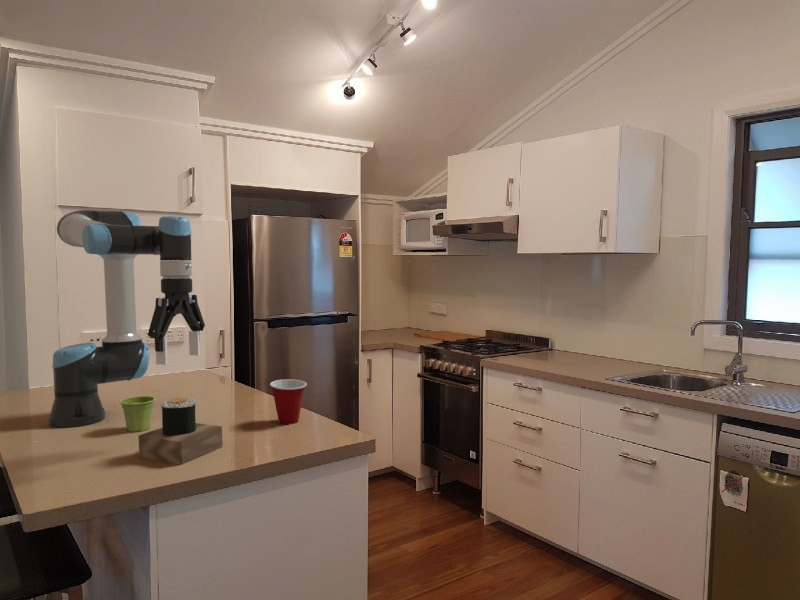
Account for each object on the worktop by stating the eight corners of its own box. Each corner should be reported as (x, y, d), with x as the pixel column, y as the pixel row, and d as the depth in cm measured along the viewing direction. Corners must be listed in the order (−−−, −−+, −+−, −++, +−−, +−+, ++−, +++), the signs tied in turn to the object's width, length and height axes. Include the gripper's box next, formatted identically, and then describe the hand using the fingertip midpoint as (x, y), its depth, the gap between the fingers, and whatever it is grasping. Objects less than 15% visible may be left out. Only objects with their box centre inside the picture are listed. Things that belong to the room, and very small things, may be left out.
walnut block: (139, 459, 143) (138, 435, 143) (181, 442, 156) (181, 421, 156) (182, 466, 137) (181, 441, 137) (222, 449, 150) (221, 426, 150)
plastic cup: (290, 428, 166) (289, 387, 166) (263, 423, 172) (262, 383, 171) (315, 419, 175) (314, 380, 175) (288, 415, 181) (287, 377, 180)
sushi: (161, 428, 149) (160, 397, 148) (195, 424, 152) (194, 394, 151) (161, 437, 141) (160, 404, 141) (197, 433, 144) (196, 401, 144)
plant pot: (163, 426, 171) (162, 397, 170) (139, 435, 162) (138, 404, 161) (138, 423, 174) (137, 395, 173) (113, 432, 165) (112, 402, 164)
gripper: (157, 279, 135) (160, 369, 136) (216, 276, 159) (218, 352, 160) (129, 279, 137) (133, 367, 138) (192, 275, 161) (195, 351, 162)
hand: (179, 359), depth 149 cm, fingers open, 13 cm apart
